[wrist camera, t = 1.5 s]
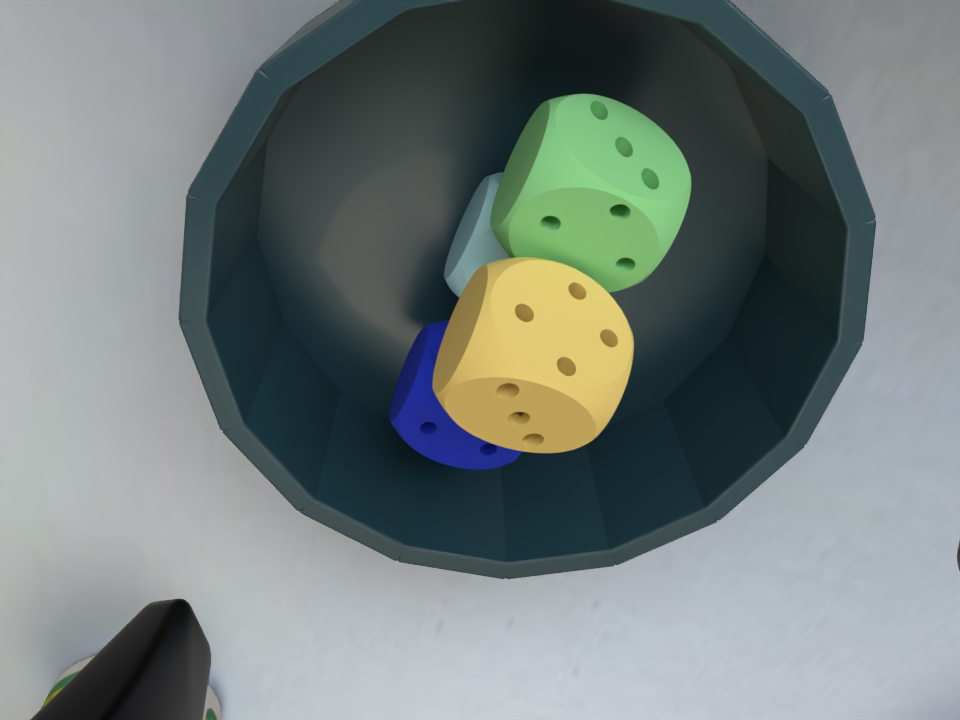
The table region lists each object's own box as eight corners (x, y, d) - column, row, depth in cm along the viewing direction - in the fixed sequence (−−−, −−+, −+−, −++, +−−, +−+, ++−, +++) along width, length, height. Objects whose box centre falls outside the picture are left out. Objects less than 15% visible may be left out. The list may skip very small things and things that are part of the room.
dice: (491, 403, 20) (503, 604, 14) (392, 366, 19) (364, 561, 14) (659, 100, 16) (761, 214, 11) (543, 43, 16) (587, 132, 10)
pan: (795, -116, 15) (913, -113, 11) (772, 416, 21) (843, 539, 17) (163, -7, 15) (63, 30, 12) (319, 476, 22) (288, 607, 18)
